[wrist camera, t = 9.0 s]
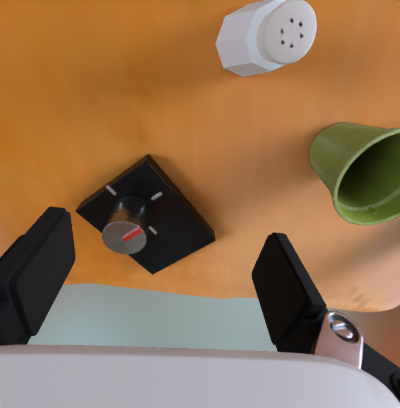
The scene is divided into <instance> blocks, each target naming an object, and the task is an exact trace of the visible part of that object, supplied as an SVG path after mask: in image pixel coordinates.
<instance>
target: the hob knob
mask: <svg viewBox="0 0 400 408" xmlns="http://www.w3.org/2000/svg"><path fill="white" fill-rule="evenodd" d="M151 215H152V210H151V207H150V205H149V204H148V202H147V201H145V200H144V199H142V198H140V197H138V196H125V197H122V198H120V199H119V200H118V201H117V202H116V204H115V206H114V208H113V210H112V213H111V215H110V217H109V219H108V221H107V223H106V226H105V228H104V230H103V232H102V239H103V242H104V243H105V245H106V246H107V247H108V248H109V249H111V250H112V251H114V252H117V253H120V254H133V253H136V252H138V251H140V250H141V249H142V248H143V247H144V246H145V244H146V240H147V235H148V230H149V225H150V220H151Z"/></svg>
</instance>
